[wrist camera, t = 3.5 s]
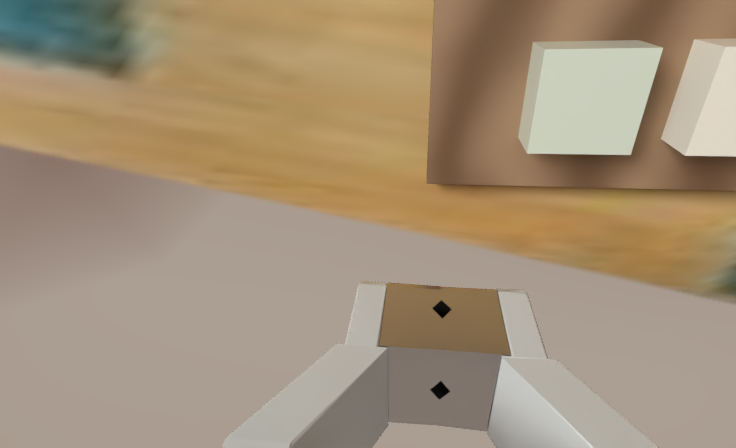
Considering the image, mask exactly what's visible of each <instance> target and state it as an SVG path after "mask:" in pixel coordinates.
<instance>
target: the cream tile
mask: <svg viewBox="0 0 736 448" xmlns="http://www.w3.org/2000/svg"><path fill="white" fill-rule="evenodd" d="M661 139H662V140H663V141H665V142H666V143H667V144H669V145H670V146H672V147H673V148H674V149H676V150H677V151H679V152H680V153H682V154H683V155H684V156H734V157H736V38H735V39H694V41H693V44H692V47H691V50H690V53H689V56H688V59H687V62H686V65H685V68H684V71H683V74H682V77H681V80H680V83H679V86H678V89H677V92H676V95H675V98H674V101H673V104H672V107H671V110H670V113H669V116H668V119H667V122H666V125H665V128H664V131H663V134H662V137H661Z"/></svg>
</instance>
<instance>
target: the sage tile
mask: <svg viewBox="0 0 736 448" xmlns="http://www.w3.org/2000/svg"><path fill="white" fill-rule="evenodd" d="M662 50H663V47H660V46H656V45H653V44H650V43H647V42H643V41H640V40H616V41H557V42H533V45H532V51H531V58H530V64H529V71H528V77H527V83H526V90H525V96H524V103H523V109H522V116H521V122H520V128H519V135H518V138H519V140H520V142H521V144H522V145H523V147H524V149H525V151H526V153H527V154H593V155H631V153H632V149H633V146H634V143H635V139H636V136H637V133H638V130H639V126H640V123H641V120H642V116H643V113H644V110H645V106H646V103H647V100H648V97H649V93H650V90H651V87H652V83H653V80H654V77H655V73H656V70H657V67H658V64H659V60H660V57H661V54H662Z"/></svg>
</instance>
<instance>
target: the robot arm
mask: <svg viewBox="0 0 736 448" xmlns="http://www.w3.org/2000/svg"><path fill="white" fill-rule="evenodd" d="M388 422H396V423H411V424H412V423H413V424H427V425H439V426H447V427H455V428H464V429H472V430H480V431H488V432H487V434H488V436H489V437H490V439H491V440H492V442H493V443H494V445H495V446H496V448H659V447H657V446H656V445H655V444H654V443H653V442H652V441H650V440H649V439H648V438H647V437H646V436H645V435H644V434H642V433H641V432H640V431H639V430H638V429H637V428H635V427H634V426H633V425H632V424H631V423H630V422H629V421H627V420H626V419H625V418H624V417H623V416H622V415H621V414H619V413H618V412H617V411H616V410H615V409H614V408H612V407H611V406H610V405H609V404H608V403H607V402H606V401H604V400H603V399H602V398H601V397H600V396H599V395H597V394H596V393H595V392H594V391H593V390H592V389H591V388H589V387H588V386H587V385H586V384H585V383H584V382H582V381H581V380H580V379H579V378H578V377H577V376H576V375H574V374H573V373H572V372H571V371H570V370H569V369H568V368H566V367H565V366H564V365H563V364H562V363H561V362H559V361H558V360H551V359H550V360H549V359H548V357H547V354H546V350H545V347H544V344H543V341H542V338H541V335H540V332H539V329H538V325H537V322H536V319H535V316H534V313H533V310H532V307H531V304H530V300H529V297H528V294H527V292H526V291H524V290H520V289H495V290H494V289H475V288H454V287H440V286H427V285H426V286H425V285H414V284H400V283H388V284H387V283H383V282H369V281H361V282H360V284H359V285H358V290H357V293H356V298H355V303H354V307H353V311H352V315H351V320H350V324H349V329H348V333H347V337H346V342H345V344H336V345H335V346H334V347H332V348H331V349H330V350H329V351H328V352H327V353H325V354H324V355H323V356H322V357H321V358H319V359H318V360H317V361H316V362H315V363H314V364H312V365H311V366H310V367H309V368H308V369H306V370H305V371H304V372H303V373H302V374H301V375H299V376H298V377H297V378H296V379H295V380H294V381H292V382H291V383H290V384H289V385H288V386H286V387H285V388H284V389H283V390H282V391H281V392H279V393H278V394H277V395H276V396H275V397H274V398H273V399H271V400H270V401H269V402H268V403H267V404H265V405H264V406H263V407H262V408H261V409H259V410H258V411H257V412H256V413H255V414H253V415H252V416H251V417H250V418H249V419H248V420H246V421H245V422H244V423H243V424H242V425H241V426H239V427H238V428H237V429H236V430H235V431H233V433H231V434H230V435H229V436H228V437H227V438H226V439H225V442H224V444H223V446H222V448H372V447H373V446H374V444H375V443H376V442H377V440H378V439H379V437H380V436H381V435H382V433H383V432H384V430H385V429H386V428H387V426H388Z"/></svg>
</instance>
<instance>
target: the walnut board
mask: <svg viewBox="0 0 736 448" xmlns="http://www.w3.org/2000/svg"><path fill="white" fill-rule="evenodd" d="M735 38H736V0H434V20H433V43H432V66H431V89H430V112H429V135H428V159H427V184H459V185H503V186H546V187H589V188H632V189H676V190H719V191H736V157H734V156H684V155H683V154H682V153H680V152H679V151H677V150H676V149H674V148H673V147H672V146H670V145H669V144H667V143H666V142H665V141H663V140H662V139H661V137H662V134H663V131H664V128H665V125H666V122H667V119H668V116H669V113H670V110H671V107H672V104H673V101H674V98H675V95H676V92H677V89H678V86H679V83H680V80H681V77H682V74H683V71H684V68H685V65H686V62H687V59H688V56H689V53H690V50H691V47H692V44H693V41H694V39H735ZM616 40H640V41H643V42H647V43H650V44H653V45H656V46H660V47H663V50H662V54H661V57H660V60H659V64H658V67H657V70H656V73H655V77H654V80H653V83H652V87H651V90H650V93H649V97H648V100H647V103H646V106H645V110H644V113H643V116H642V120H641V123H640V126H639V130H638V133H637V136H636V139H635V143H634V146H633V149H632V153H631V155H593V154H527V153H526V151H525V149H524V147H523V145H522V144H521V142H520V140H519V138H518V135H519V128H520V122H521V116H522V109H523V103H524V96H525V90H526V83H527V77H528V71H529V64H530V58H531V51H532V45H533V42H557V41H616Z"/></svg>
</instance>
